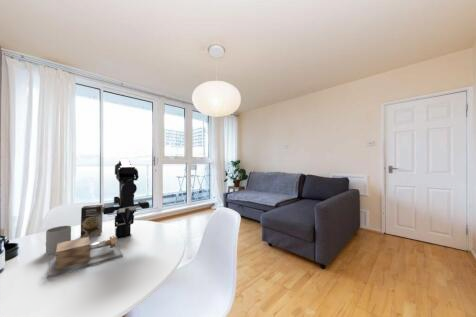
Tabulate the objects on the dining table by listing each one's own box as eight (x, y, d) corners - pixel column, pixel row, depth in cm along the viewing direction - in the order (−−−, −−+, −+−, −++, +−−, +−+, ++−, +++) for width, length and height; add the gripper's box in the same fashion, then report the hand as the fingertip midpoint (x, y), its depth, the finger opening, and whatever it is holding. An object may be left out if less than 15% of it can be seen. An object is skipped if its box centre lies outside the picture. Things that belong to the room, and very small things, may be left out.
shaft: (113, 245, 88) (113, 234, 88) (115, 248, 85) (115, 237, 85) (75, 254, 79) (75, 242, 79) (75, 258, 76) (75, 246, 76)
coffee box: (80, 238, 101) (80, 208, 101) (82, 234, 106) (83, 205, 106) (101, 235, 105) (101, 206, 105) (102, 231, 111) (103, 204, 111)
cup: (55, 255, 82) (55, 232, 82) (40, 254, 84) (41, 231, 84) (75, 247, 91) (75, 226, 91) (61, 245, 92) (62, 225, 92)
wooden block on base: (116, 244, 94) (116, 229, 94) (122, 256, 82) (122, 239, 82) (50, 260, 78) (51, 242, 79) (47, 278, 66) (47, 256, 67)
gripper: (143, 188, 102) (143, 217, 102) (101, 192, 90) (100, 225, 90) (149, 191, 94) (149, 222, 94) (104, 195, 82) (103, 231, 81)
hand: (126, 225), depth 90 cm, fingers closed
